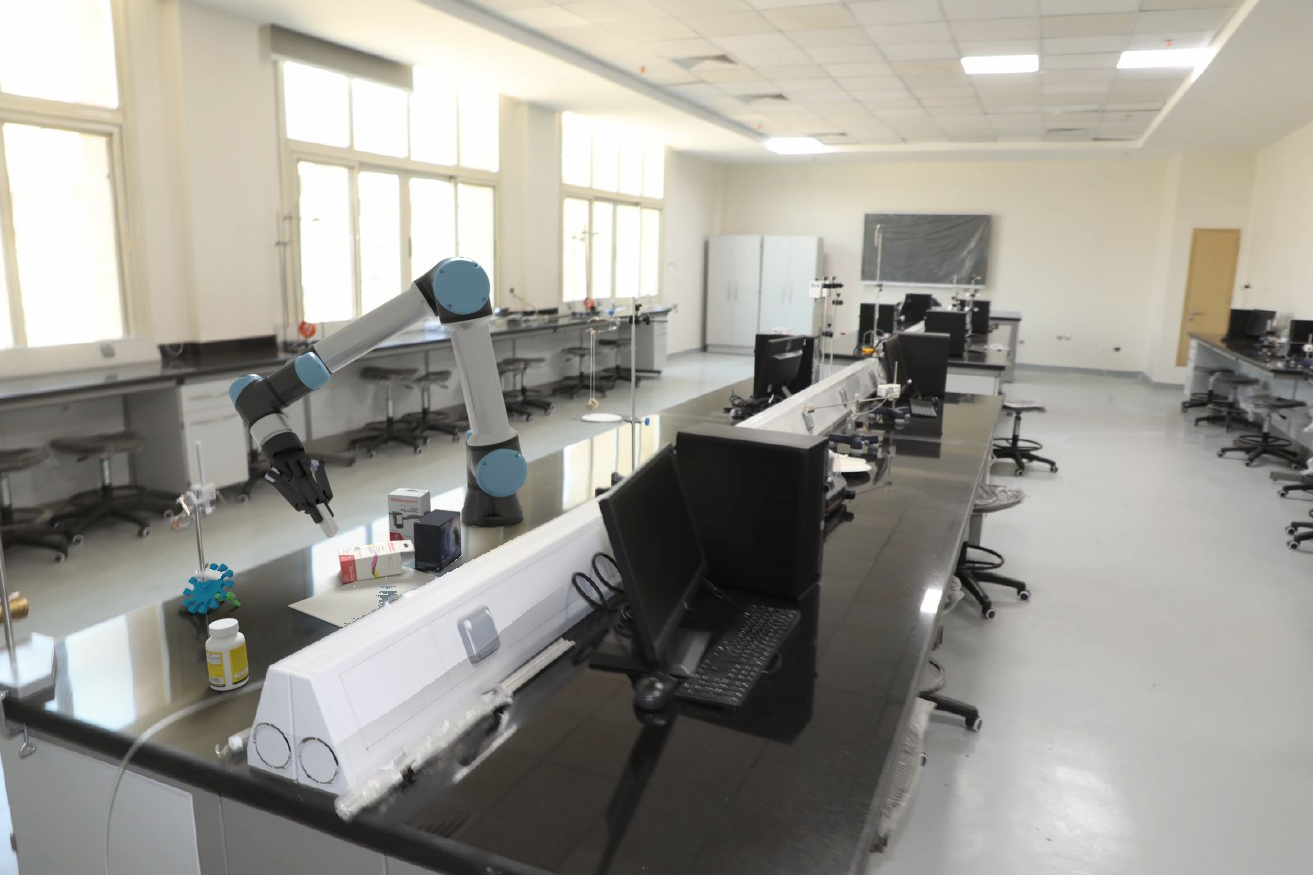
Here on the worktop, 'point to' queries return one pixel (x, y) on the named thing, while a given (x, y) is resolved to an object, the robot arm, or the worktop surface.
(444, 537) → the small box
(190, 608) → the gear
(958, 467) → the worktop surface
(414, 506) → the ink box
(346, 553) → the ink cartridge box
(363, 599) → the mat
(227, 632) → the supplement bottle
